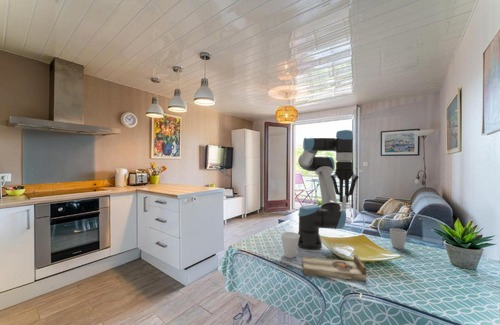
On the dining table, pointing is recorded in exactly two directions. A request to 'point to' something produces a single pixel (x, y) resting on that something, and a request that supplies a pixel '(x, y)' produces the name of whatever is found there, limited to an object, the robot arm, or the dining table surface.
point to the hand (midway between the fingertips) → (343, 209)
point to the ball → (341, 265)
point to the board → (334, 268)
